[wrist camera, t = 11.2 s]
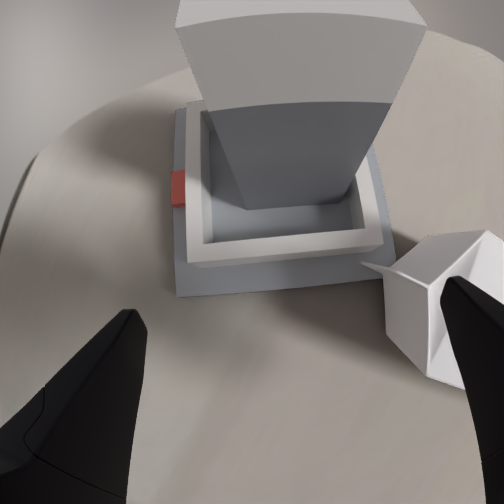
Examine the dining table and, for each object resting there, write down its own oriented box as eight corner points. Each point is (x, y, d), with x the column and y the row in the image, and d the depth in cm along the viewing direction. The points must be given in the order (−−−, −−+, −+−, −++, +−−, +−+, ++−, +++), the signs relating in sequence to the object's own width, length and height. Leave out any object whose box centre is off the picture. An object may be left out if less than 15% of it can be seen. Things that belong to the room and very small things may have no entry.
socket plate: (393, 276, 15) (414, 271, 12) (181, 297, 16) (160, 296, 13) (354, 98, 17) (362, 70, 14) (179, 116, 18) (164, 90, 15)
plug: (339, 203, 16) (427, 26, 4) (247, 210, 16) (174, 28, 4) (328, 140, 16) (366, -46, 4) (243, 146, 17) (190, -41, 5)
